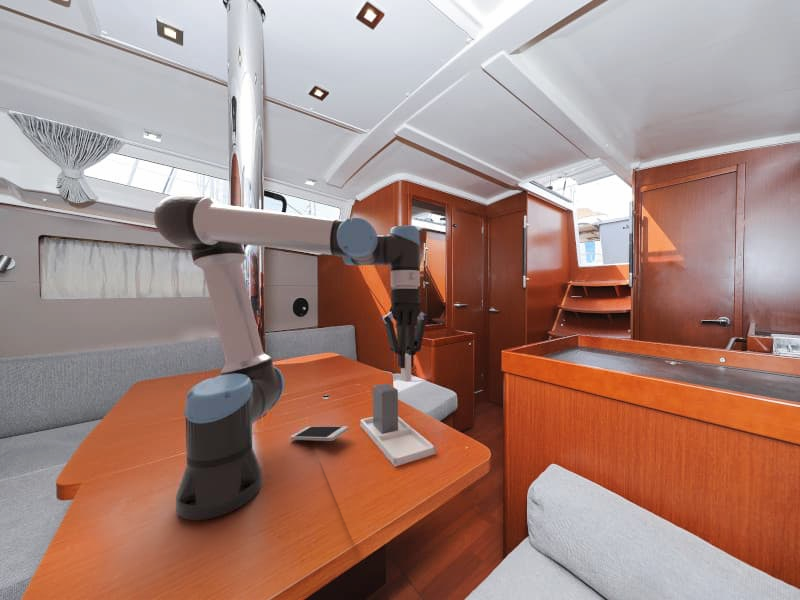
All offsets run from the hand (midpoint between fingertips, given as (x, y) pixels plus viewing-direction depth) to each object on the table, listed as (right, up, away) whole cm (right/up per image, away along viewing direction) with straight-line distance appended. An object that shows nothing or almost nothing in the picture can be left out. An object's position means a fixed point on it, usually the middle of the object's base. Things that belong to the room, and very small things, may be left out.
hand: (406, 379), depth 73 cm
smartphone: (-17, -17, +3) cm, 25 cm away
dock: (-3, -18, +7) cm, 20 cm away
